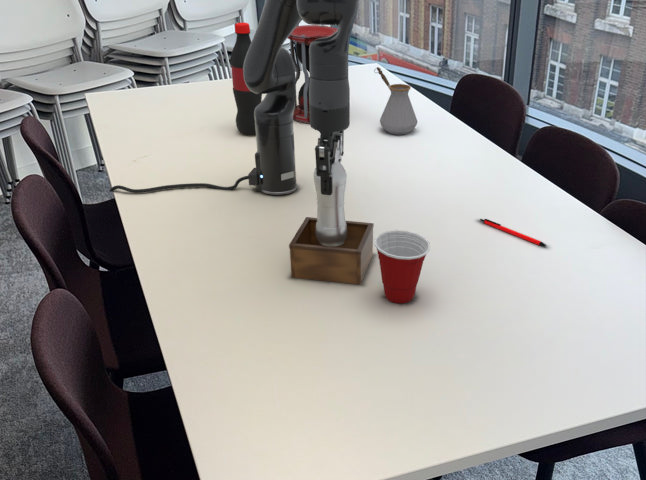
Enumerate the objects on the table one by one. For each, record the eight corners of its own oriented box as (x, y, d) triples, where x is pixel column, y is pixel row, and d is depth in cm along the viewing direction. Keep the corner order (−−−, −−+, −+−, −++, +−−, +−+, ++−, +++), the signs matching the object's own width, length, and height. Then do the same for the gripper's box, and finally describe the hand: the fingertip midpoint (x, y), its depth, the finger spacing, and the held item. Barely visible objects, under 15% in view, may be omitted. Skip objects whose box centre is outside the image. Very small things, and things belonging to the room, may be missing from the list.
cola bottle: (270, 130, 230) (262, 21, 212) (257, 138, 224) (248, 27, 205) (244, 126, 232) (235, 18, 214) (231, 134, 226) (220, 24, 207)
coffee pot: (423, 134, 230) (426, 82, 221) (389, 139, 226) (391, 86, 217) (392, 113, 245) (393, 64, 236) (359, 118, 241) (359, 68, 232)
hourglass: (281, 119, 238) (276, 33, 222) (303, 105, 250) (300, 22, 235) (328, 126, 234) (327, 38, 218) (348, 112, 246) (348, 27, 230)
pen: (481, 220, 181) (481, 216, 181) (547, 247, 171) (548, 242, 170) (479, 221, 181) (479, 217, 180) (545, 248, 170) (546, 243, 170)
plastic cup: (409, 316, 146) (412, 260, 138) (362, 300, 150) (363, 244, 143) (437, 293, 153) (441, 238, 146) (391, 278, 158) (393, 224, 150)
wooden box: (290, 277, 157) (288, 244, 152) (307, 248, 168) (306, 216, 163) (361, 284, 155) (361, 251, 151) (373, 254, 166) (373, 223, 161)
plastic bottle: (343, 252, 155) (343, 155, 143) (311, 248, 156) (308, 152, 144) (350, 238, 160) (351, 144, 148) (320, 234, 161) (317, 141, 149)
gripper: (319, 88, 147) (320, 172, 157) (299, 111, 136) (303, 200, 146) (357, 91, 146) (356, 175, 156) (340, 114, 135) (341, 203, 145)
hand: (330, 187), depth 151 cm, fingers closed on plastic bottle, 6 cm apart
